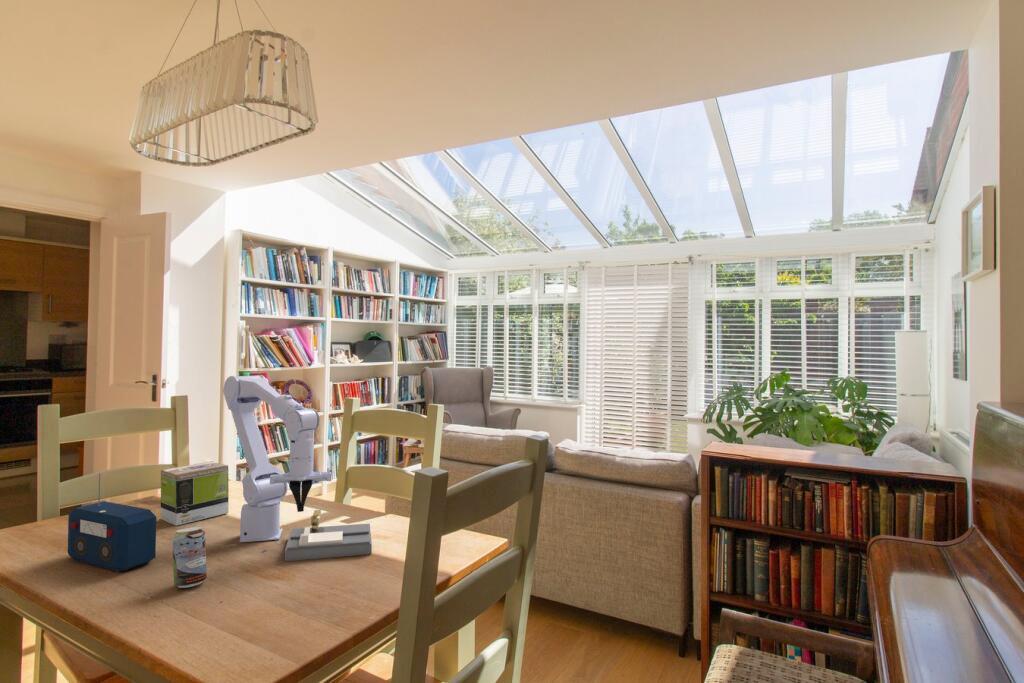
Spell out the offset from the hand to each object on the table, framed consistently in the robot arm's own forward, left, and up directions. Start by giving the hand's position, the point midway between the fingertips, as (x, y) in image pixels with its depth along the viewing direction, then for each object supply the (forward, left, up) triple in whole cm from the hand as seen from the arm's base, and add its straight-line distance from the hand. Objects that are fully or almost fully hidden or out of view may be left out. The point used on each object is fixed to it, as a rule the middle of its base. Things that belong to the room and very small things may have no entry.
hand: (300, 510), depth 141 cm
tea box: (-32, +33, -10) cm, 47 cm away
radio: (-42, +1, -10) cm, 43 cm away
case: (+7, 0, -9) cm, 12 cm away
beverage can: (-21, -17, -10) cm, 29 cm away
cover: (+5, -4, -7) cm, 9 cm away
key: (+3, +7, -7) cm, 10 cm away
